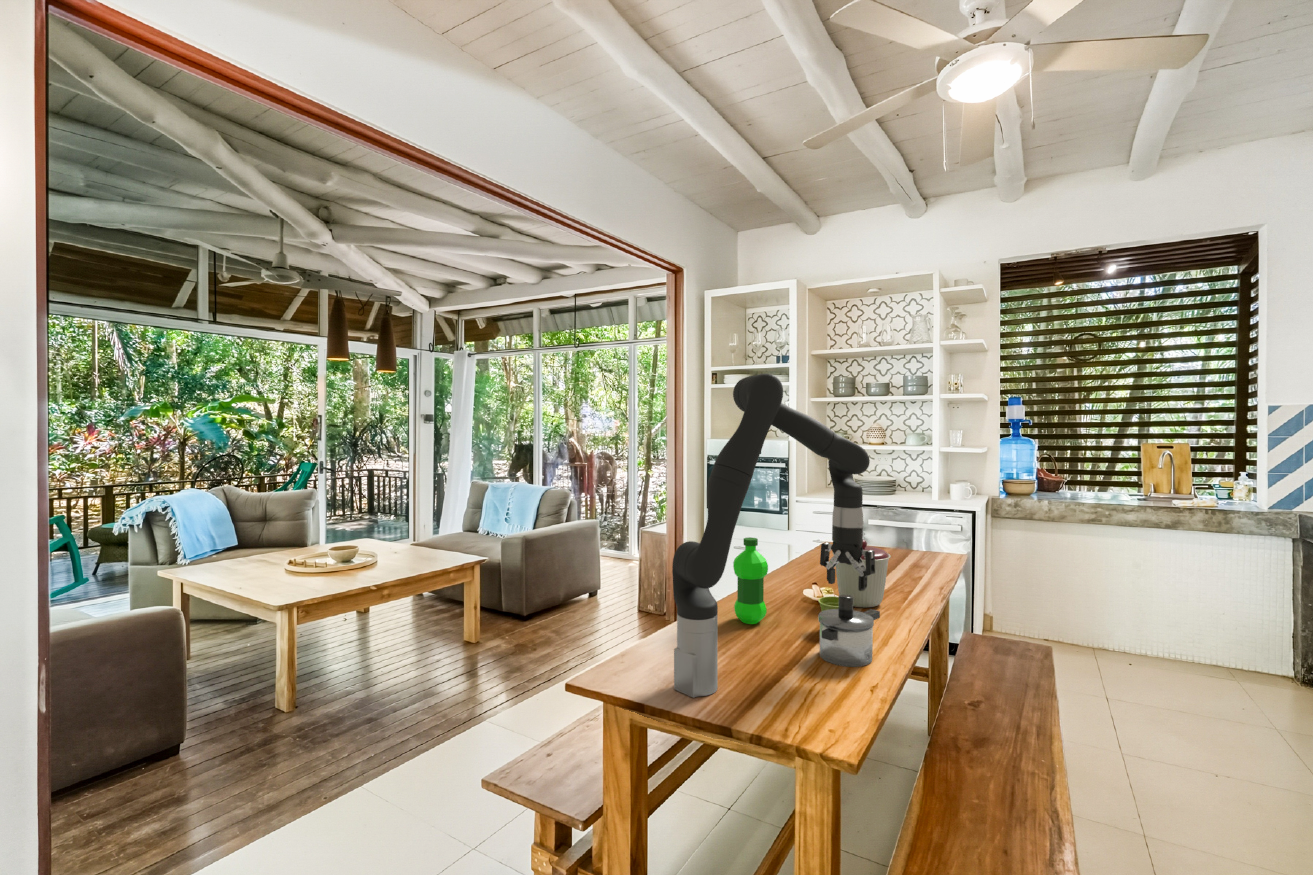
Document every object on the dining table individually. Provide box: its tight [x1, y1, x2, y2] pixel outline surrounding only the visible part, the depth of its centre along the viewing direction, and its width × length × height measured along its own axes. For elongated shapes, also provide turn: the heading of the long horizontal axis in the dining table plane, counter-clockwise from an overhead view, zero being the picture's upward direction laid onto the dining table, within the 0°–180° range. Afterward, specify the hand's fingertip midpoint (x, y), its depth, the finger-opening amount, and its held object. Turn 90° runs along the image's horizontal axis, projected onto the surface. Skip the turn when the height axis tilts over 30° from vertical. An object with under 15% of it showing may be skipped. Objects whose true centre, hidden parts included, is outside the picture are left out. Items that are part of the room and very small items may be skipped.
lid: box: [817, 594, 875, 631], centre depth 161 cm, size 14×14×6 cm
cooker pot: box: [819, 608, 881, 668], centre depth 164 cm, size 25×13×9 cm, turn 133°
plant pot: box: [817, 595, 839, 612], centre depth 181 cm, size 9×9×9 cm
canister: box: [832, 539, 892, 608], centre depth 206 cm, size 18×18×21 cm
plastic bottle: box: [732, 536, 769, 625], centre depth 189 cm, size 10×10×25 cm
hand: (846, 586), depth 161 cm, fingers open, 8 cm apart
